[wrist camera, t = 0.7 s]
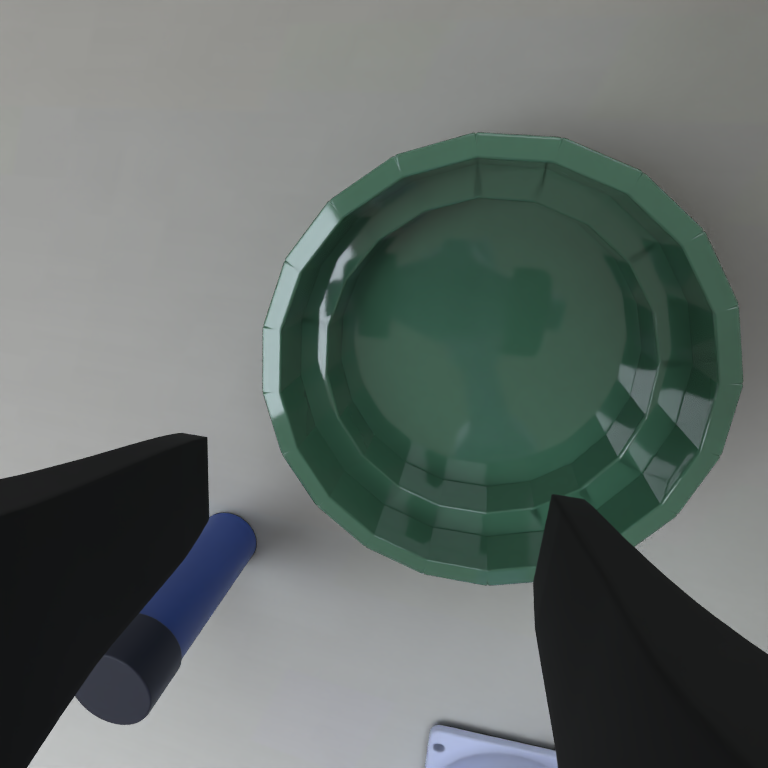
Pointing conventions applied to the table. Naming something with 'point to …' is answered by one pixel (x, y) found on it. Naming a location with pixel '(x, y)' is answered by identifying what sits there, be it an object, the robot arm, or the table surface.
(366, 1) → the table surface
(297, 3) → the table surface
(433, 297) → the bowl
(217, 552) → the marker
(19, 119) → the table surface
